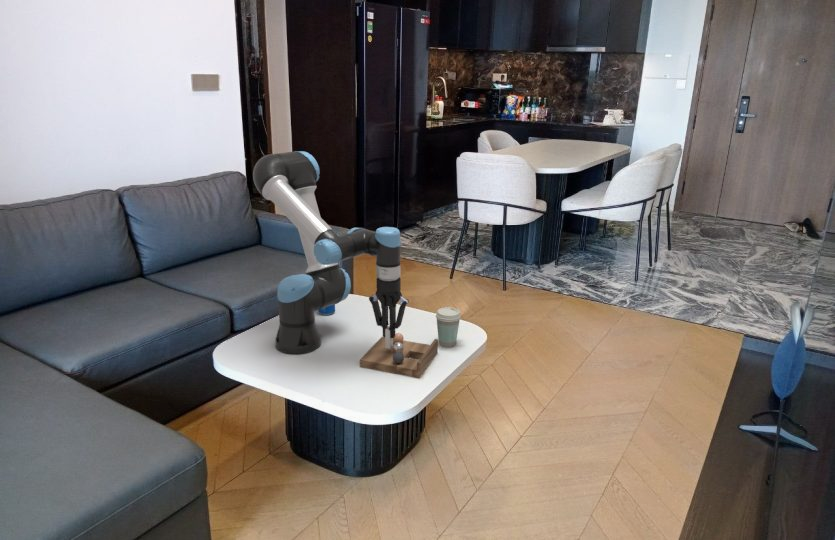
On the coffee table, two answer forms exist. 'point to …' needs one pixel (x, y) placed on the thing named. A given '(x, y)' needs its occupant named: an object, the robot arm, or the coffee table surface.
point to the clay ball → (398, 337)
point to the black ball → (398, 357)
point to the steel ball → (398, 347)
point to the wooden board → (383, 360)
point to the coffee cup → (447, 326)
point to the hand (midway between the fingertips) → (389, 346)
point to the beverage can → (327, 310)
